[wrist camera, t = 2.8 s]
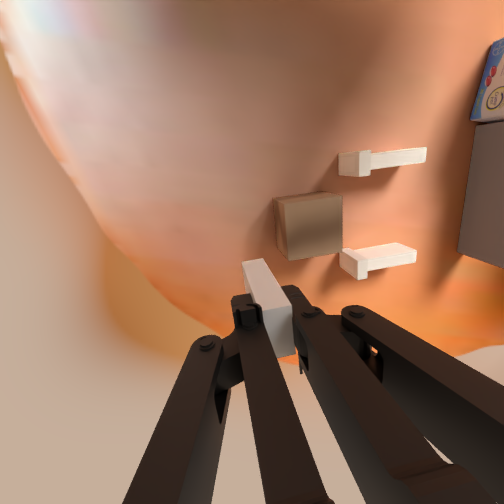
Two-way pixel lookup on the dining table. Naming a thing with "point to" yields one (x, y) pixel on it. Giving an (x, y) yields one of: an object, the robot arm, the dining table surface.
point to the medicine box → (491, 88)
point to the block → (308, 225)
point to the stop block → (485, 198)
